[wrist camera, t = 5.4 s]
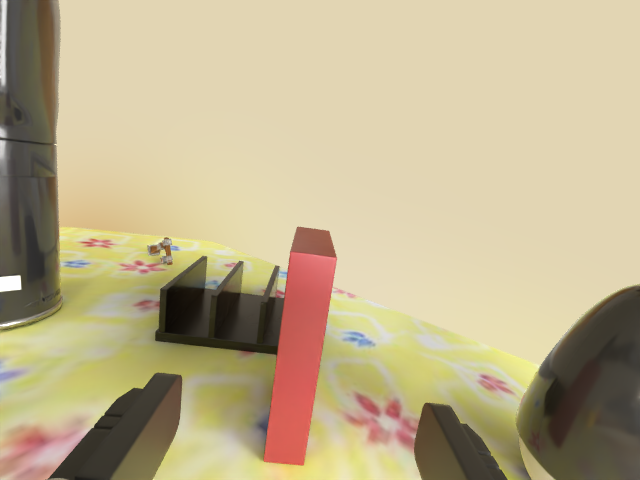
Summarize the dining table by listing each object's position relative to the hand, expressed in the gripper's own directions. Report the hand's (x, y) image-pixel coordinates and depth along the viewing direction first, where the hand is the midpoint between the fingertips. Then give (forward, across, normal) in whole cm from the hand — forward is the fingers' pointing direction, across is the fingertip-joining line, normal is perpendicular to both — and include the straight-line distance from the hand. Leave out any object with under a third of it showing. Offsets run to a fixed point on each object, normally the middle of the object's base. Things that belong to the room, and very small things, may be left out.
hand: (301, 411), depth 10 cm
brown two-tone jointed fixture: (+44, +24, +11) cm, 51 cm away
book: (+12, 0, +11) cm, 16 cm away
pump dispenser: (+7, -20, +11) cm, 24 cm away
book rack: (+26, +6, +11) cm, 29 cm away
